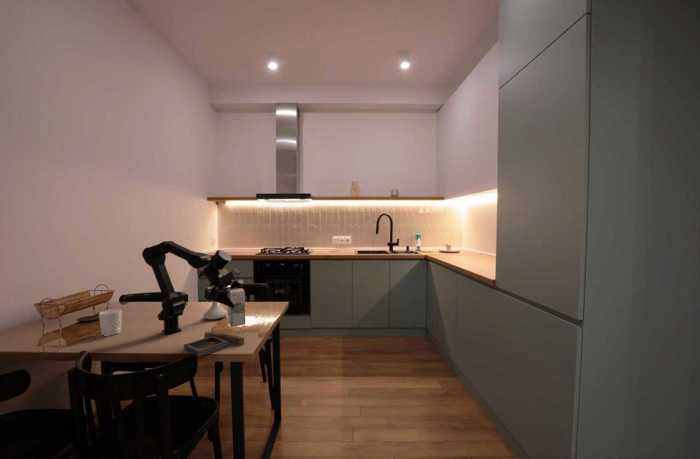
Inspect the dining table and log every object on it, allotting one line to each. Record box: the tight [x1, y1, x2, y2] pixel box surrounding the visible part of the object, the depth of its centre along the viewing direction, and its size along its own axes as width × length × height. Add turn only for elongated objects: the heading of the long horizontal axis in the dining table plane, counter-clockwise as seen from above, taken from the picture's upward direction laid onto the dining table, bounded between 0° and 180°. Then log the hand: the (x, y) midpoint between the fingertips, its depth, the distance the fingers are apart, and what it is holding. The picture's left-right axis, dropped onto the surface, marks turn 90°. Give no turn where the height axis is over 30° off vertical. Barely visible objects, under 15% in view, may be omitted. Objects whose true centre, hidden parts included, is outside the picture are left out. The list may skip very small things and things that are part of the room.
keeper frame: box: [183, 335, 229, 358], centre depth 115 cm, size 11×11×2 cm
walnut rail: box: [203, 330, 245, 346], centre depth 122 cm, size 20×2×2 cm, turn 65°
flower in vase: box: [202, 268, 229, 320], centre depth 155 cm, size 13×11×25 cm
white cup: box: [98, 308, 123, 337], centre depth 135 cm, size 8×8×10 cm
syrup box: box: [227, 288, 246, 328], centre depth 128 cm, size 6×6×14 cm
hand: (239, 304), depth 127 cm, fingers closed on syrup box, 8 cm apart
